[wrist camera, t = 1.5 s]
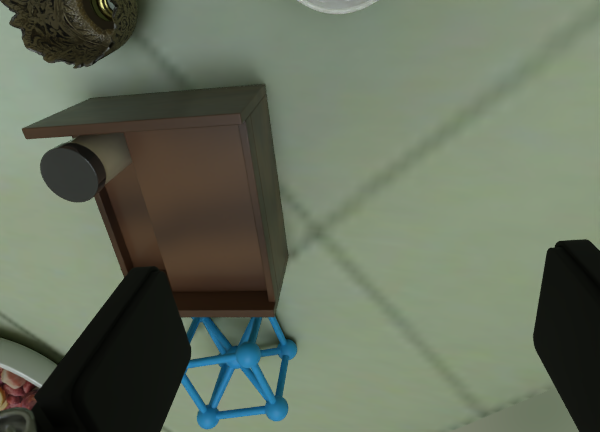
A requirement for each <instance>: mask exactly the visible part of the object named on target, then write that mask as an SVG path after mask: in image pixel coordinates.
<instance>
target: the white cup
mask: <svg viewBox="0 0 600 432" xmlns="http://www.w3.org/2000/svg"><path fill="white" fill-rule="evenodd" d="M297 1H299V2H300V3H301V4H303V5H305V6H307V7H309V8H311V9H313V10H316V11H319V12H323V13H328V14H346V13H351V12H355V11H359V10H361V9H364V8H366V7H368V6H370V5H372V4H374V3H375V2H377V1H378V0H297Z"/></svg>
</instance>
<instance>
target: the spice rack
mask: <svg viewBox="0 0 600 432" xmlns="http://www.w3.org/2000/svg"><path fill="white" fill-rule="evenodd" d="M22 131H23V133H24V136H25V138H26V139H36V138H51V137H66V136H72V138H73V139H74V138H75V137H77V136H81V135H95V134H110V133H124V136H125V139H126V143H127V146H128V149H129V152H130V156H131V159H132V162H133V163H132V164H130V165H129V166H128V167H127V168H126V169H124V170H123V171H122V172H121V173H120V174H118V175H117V176H116V177H115V178H113V179H112V180H111V181H110V182H109V183H107V184H106V185H105V186H104V187H103V189H102V190H101V191H100V192H99V193H97V194H96V195H95V196H94V197H95V200H96V203H97V205H98V208H99V211H100V213H101V216H102V219H103V222H104V224H105V227H106V230H107V232H108V235H109V238H110V240H111V243H112V246H113V248H114V251H115V254H116V256H117V259H118V262H119V264H120V267H121V270H122V273H123V275H124V278H125V276H126V275H127V274H128V272H129V271H130V270H131V269H132V268H135V267H148V266H155V267H157V268H158V269H159V271H163V272H164V273H165V274H166V276H167V279H168V282H169V285H170V288H171V291H172V294H173V297H174V300H175V303H176V305H177V308H178V311H179V314H180V317H275V313H276V309H277V305H278V300H279V296H280V292H281V287H282V283H283V279H284V274H285V270H286V266H287V261H288V250H287V243H286V235H285V228H284V221H283V213H282V206H281V199H280V191H279V184H278V176H277V169H276V162H275V154H274V147H273V140H272V132H271V125H270V118H269V110H268V103H267V95H266V88H265V84H259V85H247V86H235V87H222V88H210V89H198V90H185V91H173V92H161V93H149V94H136V95H124V96H112V97H99V98H90V99H88V100H85V101H83V102H81V103H79V104H76V105H74V106H72V107H70V108H67V109H65V110H63V111H61V112H58V113H56V114H54V115H52V116H49V117H47V118H45V119H42V120H40V121H38V122H36V123H33V124H31V125H29V126H27V127H24V128H22Z"/></svg>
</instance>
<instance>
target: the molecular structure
mask: <svg viewBox="0 0 600 432" xmlns="http://www.w3.org/2000/svg"><path fill="white" fill-rule="evenodd" d="M191 318H192V319H193V321H192V324H191V326H190V328H189V330H188V332H187V337H188V340H189V343H190V342H191V340H192V338H193V336H194V333H195V331H196V329H197V327H198V324H199V322H203V324H204V325H205V327H206V329H207V331H208V332H209V334H210V336H211V338H212V339H213V341H214V343H215V345H216V346H217V348H218V350H219V352H220V354H219V355H217V356H211V357H205V358H199V359H193V360H190V361H189V364H188V366H187V369H188V368H193V367H200V366H206V365H213V364H219V366H220V367H221V370H220V373H219V376H218V379H217V382H216V385H215V388H214V391H213V394H212V397H211V400H210V403H209V405H205V404H204V402H203V400H202V399H201V397H200V396H199V394H198V393H197V391H196V390H195V388H194V386H193V385H192V383H191V382H190V380H189V379H188V377H187V375H186V374H184V376H183V378H182V381H181V383H182V384H183V386H184V387H185V389H186V390H187V392H188V393H189V395H190V396H191V398H192V399H193V401H194V402H195V404H196V406H197V407H198V409H199V412H198V415H197V421H198V424H199V425H200V426H201V427H202V428H204V429H211V428H213V427H215V426H216V425H217V423H218V421H219V419H226V418H234V417H242V416H250V415H259V414H266V415H267V417H268V418H269V419H271V420H273V421H280V420H282V419H284V418H285V416H286V415H287V413H288V404H287V401H286V400H285V399H284V398H283V397H282V395H283V389H284V383H285V378H286V372H287V366H288V360H291V359H292V358H294V356H295V355H296V353H297V346H296V344H295V343H294V342H293V341H292V340H289V339H285V337H284V335H283V332H282V330H281V328H280V326H279V324H278V322H277V319H276V317H268V318H269V320H270V322H271V324H272V326H273V329H274V331H275V333H276V335H277V337H278V339H279V341H280V343H279V344H278V347H277V348H272V349H265V350H260V348H259V347H258V345H257V344H255V343H256V339H257V335H258V331H259V328H260V324H261V320H262V317H251V319H250V321H249V324H248V326H247V328H246V330H245V332H244V334H243V336H242V338H241V340H240V343H239V345H238V346H232V345H231V344H230V343H229V341H228V340H227V339H226V338H225V336H224V335H223V334H222V333H221V331H220V330H219V329H218V328H217V326H216V325H215V324H214V323H213V321H212V320H211V319H210V317H191ZM277 354H278V355H279V357H280V358H281V359H282V362H281V367H280V373H279V378H278V384H277V389H276V395H275V396H274V394H273V392H272V390H271V388H270V386H269V385H268V383H267V381H266V379H265V377H264V375H263V373H262V371H261V369H260V367H259V365H258V362H259V360H260V358H261V357H265V356H271V355H277ZM238 368H241V370H242V371H243V372H244V373H245V375H246V376H247V377H248V378H249V380H250V381H251V382H252V384H253V385H254V386H255V387H256V389H257V390H258V391H259V393H260V394H261V395H262V396H263V398H264V399H265V400H266V405H265V406H259V407H251V408H243V409H235V410H227V411H220V412H219V410H218V409H217V406H218V403H219V401H220V399H221V397H222V395H223V393H224V391H225V389H226V386H227V384H228V382H229V380H230V378H231V376H232V374H233V371H234V369H238ZM250 368H251V369H252V370H251V369H250ZM187 369H186V371H185V373H186V372H187ZM252 371H253V372H252Z"/></svg>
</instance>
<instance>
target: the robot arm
mask: <svg viewBox="0 0 600 432" xmlns="http://www.w3.org/2000/svg"><path fill="white" fill-rule="evenodd" d="M533 341H534V346H535V349H536V351H537V353H538V355H539V357H540V359H541V361H542V363H543V365H544V366H545V368H546V370H547V372H548V374H549V376H550V378H551V380H552V381H553V383H554V385H555V387H556V389H557V391H558V393H559V394H560V396H561V398H562V400H563V402H564V404H565V406H566V408H567V409H568V411H569V413H570V415H571V417H572V419H573V421H574V423H575V424H576V426H577V428H578V430H579V432H600V251H599V250H598V249H597V248H596V247H595V246H594V245H593V244H592V243H591V242H590V241H589V240H585V239H584V240H568V241H559V242H557V243H556V245H555V248H549V249H548V251H547V255H546V261H545V267H544V273H543V279H542V285H541V291H540V297H539V303H538V309H537V316H536V322H535V328H534V334H533ZM190 358H191V346H190V343H189V340H188V337H187V334H186V332H185V329H184V326H183V323H182V320H181V317H180V314H179V311H178V308H177V305H176V303H175V300H174V297H173V294H172V291H171V288H170V285H169V282H168V279H167V276H166V274H165V273H164V272H163V271H159V269H158V268H157V267H155V266H148V267H135V268H132V269H131V270H130V271H129V272H128V274H127V275H126V276H125V278H124V279H123V280H122V282H121V283H120V284H119V286H118V287H117V288H116V289H115V291H114V292H113V293H112V295H111V296H110V297H109V299H108V300H107V301H106V303H105V304H104V305H103V307H102V308H101V309H100V310H99V312H98V313H97V314H96V316H95V317H94V318H93V320H92V321H91V322H90V324H89V325H88V326H87V327H86V329H85V330H84V331H83V333H82V334H81V335H80V337H79V338H78V339H77V341H76V342H75V343H74V344H73V346H72V347H71V348H70V350H69V351H68V352H67V354H66V355H65V356H64V358H63V359H62V360H61V361H60V363H59V364H58V365H57V367H56V368H55V369H54V371H53V372H52V373H51V375H50V376H49V377H48V379H47V380H46V381H45V382H44V384H43V385H42V386H41V388H40V389H39V390H38V392H37V393H36V394H35V396H34V398H35V399H36V401H37V402H36V404H35V405H34V406H33V408H32V409H31V410H29V409H27V408H24V407H14V408H9V409H5V410H2V411H0V432H160V431H161V429H162V426H163V424H164V422H165V419H166V417H167V414H168V412H169V410H170V407H171V405H172V402H173V400H174V398H175V395H176V393H177V390H178V388H179V386H180V383H181V381H182V378H183V376H184V374H185V371H186V369H187V366H188V364H189V361H190Z"/></svg>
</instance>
